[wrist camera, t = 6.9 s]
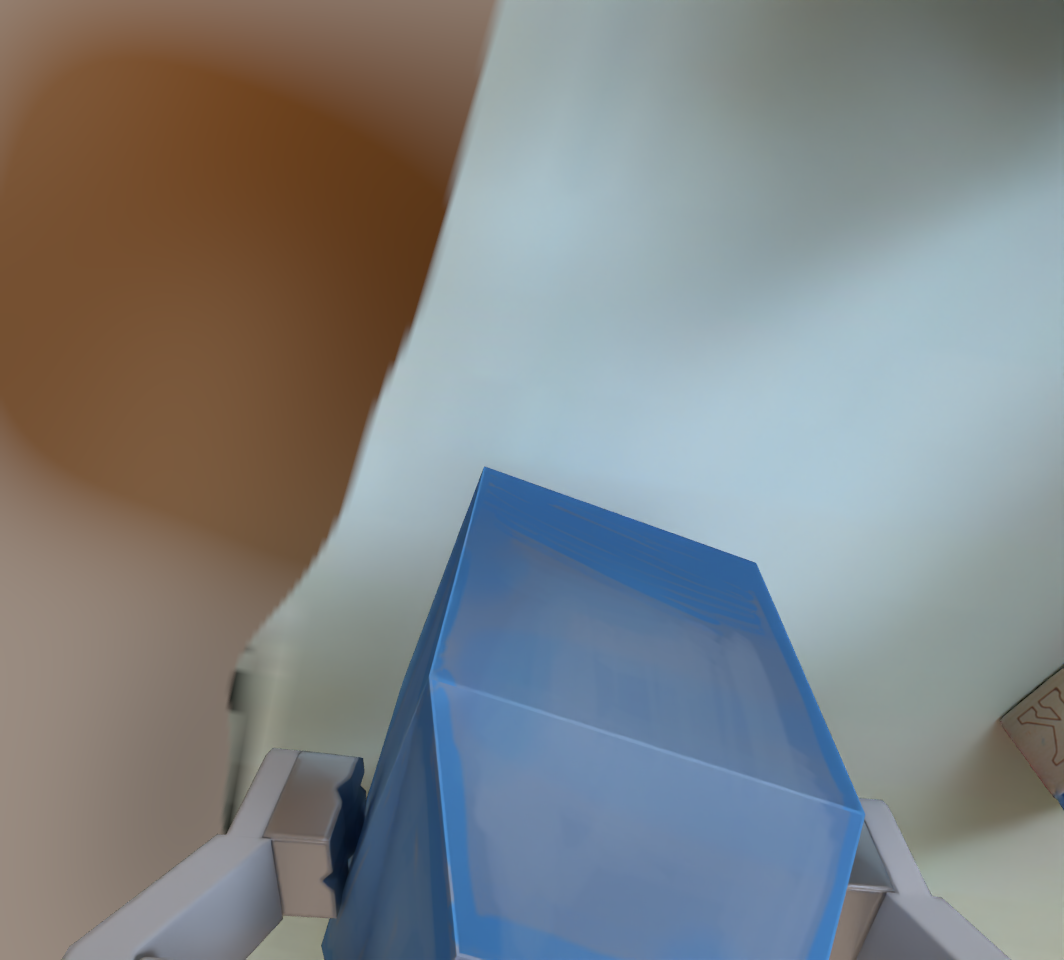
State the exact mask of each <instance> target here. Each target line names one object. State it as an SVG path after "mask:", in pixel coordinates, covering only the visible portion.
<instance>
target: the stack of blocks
mask: <svg viewBox="0 0 1064 960" xmlns="http://www.w3.org/2000/svg"><path fill="white" fill-rule="evenodd" d="M1000 722H1001V724H1002V726H1003V728H1004V730H1005V731H1006V732H1007V734H1008V735H1009V737H1010V738H1011V739H1012V741H1013V742H1014V743H1015V745H1016V746H1017V748H1018V749H1019V750H1020V752H1021V753H1022V754H1023V756H1024V757H1025V758H1026V760H1027V761H1028V762H1029V764H1030V766H1031V768H1032V769H1033V770H1034V771H1035V772H1036V774H1037V775H1038V777H1039V778H1040V780H1041V781H1042V782H1043V784H1044V785H1045V787H1046V788H1047V789H1048V790H1049V792H1050V793H1051V794H1052V795H1053V797H1054V798H1056V799H1057V800H1058V801H1059V803H1060V805H1061V807H1062V808H1063V810H1064V668H1063V669H1061V670H1060V671H1059V672H1057V673H1056V674H1055V675H1053V676H1052V677H1051V678H1049V679H1048V680H1047V681H1046V682H1045V683H1043V684H1042V685H1041V686H1040V687H1039V688H1038V689H1036V690H1035V691H1034V692H1033V693H1032V694H1030V695H1029V696H1028V697H1027V698H1025V699H1024V700H1023V701H1022V702H1020V703H1019V704H1018V705H1017V706H1016V707H1014V708H1013V709H1012V710H1011V711H1010V712H1008V713H1007V714H1006V715H1005V716H1004V717H1003V718H1002V720H1001V721H1000Z"/></svg>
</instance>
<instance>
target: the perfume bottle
mask: <svg viewBox="0 0 1064 960" xmlns="http://www.w3.org/2000/svg"><path fill="white" fill-rule="evenodd" d="M864 819H865V812H864V810H863V808H862V805H861V803H860V801H859V798H858V796H857V794H856V792H855V789H854V787H853V785H852V782H851V780H850V778H849V775H848V773H847V771H846V769H845V766H844V764H843V762H842V759H841V757H840V755H839V752H838V750H837V748H836V746H835V743H834V741H833V739H832V736H831V734H830V732H829V729H828V727H827V725H826V723H825V720H824V718H823V716H822V713H821V711H820V709H819V706H818V704H817V702H816V700H815V697H814V695H813V693H812V690H811V688H810V686H809V683H808V681H807V679H806V677H805V674H804V672H803V670H802V667H801V665H800V663H799V660H798V658H797V656H796V654H795V651H794V649H793V647H792V644H791V642H790V640H789V637H788V635H787V633H786V631H785V628H784V626H783V624H782V621H781V619H780V617H779V614H778V612H777V610H776V608H775V605H774V603H773V601H772V598H771V596H770V594H769V591H768V589H767V587H766V585H765V582H764V580H763V578H762V575H761V573H760V571H759V569H758V566H757V564H756V563H755V562H752V561H749V560H746V559H743V558H740V557H738V556H735V555H732V554H729V553H726V552H724V551H721V550H718V549H715V548H712V547H710V546H707V545H704V544H701V543H698V542H695V541H693V540H690V539H687V538H684V537H681V536H679V535H676V534H673V533H670V532H667V531H664V530H662V529H659V528H656V527H653V526H650V525H648V524H645V523H642V522H639V521H636V520H634V519H631V518H628V517H625V516H622V515H619V514H617V513H614V512H611V511H608V510H605V509H603V508H600V507H597V506H594V505H591V504H589V503H586V502H583V501H580V500H577V499H574V498H572V497H569V496H566V495H563V494H560V493H558V492H555V491H552V490H549V489H546V488H544V487H541V486H538V485H535V484H532V483H529V482H527V481H524V480H521V479H518V478H515V477H513V476H510V475H507V474H504V473H501V472H499V471H496V470H493V469H490V468H487V467H484V469H483V471H482V474H481V476H480V479H479V482H478V484H477V487H476V490H475V492H474V495H473V498H472V500H471V503H470V506H469V508H468V511H467V513H466V516H465V519H464V521H463V524H462V527H461V529H460V532H459V535H458V537H457V540H456V543H455V545H454V548H453V550H452V553H451V556H450V558H449V561H448V564H447V566H446V569H445V572H444V574H443V577H442V580H441V582H440V585H439V587H438V590H437V593H436V595H435V598H434V601H433V603H432V606H431V609H430V611H429V614H428V617H427V619H426V622H425V624H424V627H423V630H422V632H421V635H420V638H419V640H418V643H417V646H416V648H415V651H414V653H413V656H412V659H411V661H410V664H409V667H408V669H407V672H406V675H405V677H404V680H403V683H402V686H401V690H400V693H399V696H398V699H397V702H396V706H395V709H394V712H393V715H392V719H391V722H390V725H389V728H388V732H387V735H386V738H385V741H384V745H383V748H382V751H381V754H380V757H379V761H378V764H377V767H376V770H375V774H374V777H373V780H372V783H371V787H370V790H369V793H368V796H367V800H366V813H365V820H364V823H363V827H362V830H361V833H360V837H359V840H358V843H357V846H356V849H355V852H354V855H353V856H351V857H350V858H349V859H348V867H349V873H348V876H347V880H346V883H345V886H344V890H343V893H342V902H341V906H340V910H339V913H338V916H337V918H330V919H329V923H328V926H327V929H326V932H325V936H324V939H323V942H322V945H321V946H322V951H323V955H324V960H829V957H830V953H831V949H832V945H833V941H834V938H835V934H836V930H837V926H838V922H839V918H840V914H841V910H842V906H843V902H844V898H845V894H846V890H847V886H848V882H849V878H850V874H851V870H852V866H853V862H854V858H855V854H856V850H857V846H858V842H859V838H860V834H861V830H862V826H863V822H864Z"/></svg>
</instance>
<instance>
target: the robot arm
mask: <svg viewBox="0 0 1064 960" xmlns="http://www.w3.org/2000/svg"><path fill="white" fill-rule="evenodd" d="M363 775H364V763H363V758H361V757H354V756H345V755H336V754H327V753H319V752H310V751H298V750H288V749H278V748H272V749H271V750H270V751H269V753H268V754H267V755H266V756H265V758H264V760H263V762H262V764H261V766H260V768H259V770H258V772H257V774H256V776H255V778H254V780H253V782H252V784H251V786H250V788H249V790H248V792H247V794H246V796H245V798H244V800H243V802H242V804H241V806H240V808H239V810H238V812H237V814H236V816H235V818H234V820H233V822H232V824H231V826H230V828H229V830H228V832H227V834H226V835H222V834H217V835H216V836H214V837H213V838H211V839H210V840H209V841H208V842H206V843H205V844H204V845H202V846H201V847H200V848H198V849H197V850H196V851H194V852H193V853H192V854H191V855H189V856H188V857H187V858H185V859H184V860H183V861H181V862H180V863H179V864H177V865H176V866H175V867H173V868H172V869H171V870H169V871H168V872H167V873H166V874H164V875H163V876H162V877H160V878H159V879H158V880H156V881H155V882H154V883H153V884H151V885H150V886H148V887H147V888H146V889H144V890H143V891H142V892H141V893H139V894H138V895H137V896H135V897H134V898H133V899H132V900H130V901H129V902H127V903H126V904H125V905H123V906H122V907H121V908H120V909H118V910H117V911H116V912H114V913H113V914H112V915H110V916H109V917H108V918H106V919H105V920H104V921H102V922H101V923H100V924H99V925H97V926H96V927H95V928H93V929H92V930H91V931H89V932H88V933H87V934H85V935H84V936H83V937H81V938H80V939H79V940H78V941H76V942H75V943H74V944H72V945H71V946H70V947H69V948H68V950H67V952H66V953H65V955H64V956H63V958H62V960H245V959H246V958H247V957H248V956H249V955H250V954H251V953H252V952H253V951H254V950H255V949H256V948H257V946H258V945H259V944H260V943H261V942H262V941H263V940H264V939H265V938H266V937H267V936H268V935H269V934H270V932H271V931H272V930H273V929H274V928H275V927H276V926H277V925H278V924H279V923H280V922H281V921H282V919H283V916H282V915H285V916H302V917H319V918H337V916H338V913H339V910H340V906H341V902H342V893H343V890H344V886H345V883H346V880H347V876H348V873H349V867H348V859H349V858H350V857H351V856H353V855H354V852H355V849H356V846H357V843H358V840H359V837H360V833H361V830H362V827H363V823H364V820H365V813H366V791H365V790H364V789H363V788H362V787H361V786H360V785H361V782H362V779H363ZM859 801H860V803H861V805H862V808H863V810H864V812H865V819H864V822H863V826H862V830H861V834H860V838H859V842H858V846H857V850H856V854H855V858H854V862H853V866H852V870H851V874H850V878H849V882H848V886H847V890H846V894H845V898H844V902H843V906H842V910H841V914H840V918H839V922H838V926H837V930H836V934H835V938H834V941H833V945H832V949H831V953H830V957H829V960H1011V959H1010V958H1009V957H1008V956H1007V955H1005V954H1004V953H1003V952H1002V951H1001V950H1000V949H999V948H998V947H997V946H995V945H994V944H993V943H992V942H991V941H990V940H989V939H988V938H986V937H985V936H984V935H983V934H982V933H981V932H980V931H979V930H978V929H976V928H975V927H974V926H973V925H972V924H971V923H970V922H969V921H968V920H966V919H965V918H964V917H963V916H962V915H961V914H960V913H959V912H958V911H956V910H955V909H954V908H953V907H952V906H951V905H950V904H949V903H948V902H946V901H945V900H944V899H943V898H942V897H936V896H932V895H931V893H930V891H929V889H928V887H927V885H926V883H925V881H924V878H923V876H922V874H921V872H920V870H919V868H918V866H917V864H916V862H915V860H914V858H913V856H912V854H911V852H910V850H909V848H908V845H907V843H906V841H905V839H904V837H903V835H902V833H901V831H900V829H899V827H898V825H897V823H896V821H895V819H894V817H893V815H892V812H891V810H890V808H889V806H888V805H887V804H886V803H885V802H884V801H883V800H876V799H864V798H859Z"/></svg>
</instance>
